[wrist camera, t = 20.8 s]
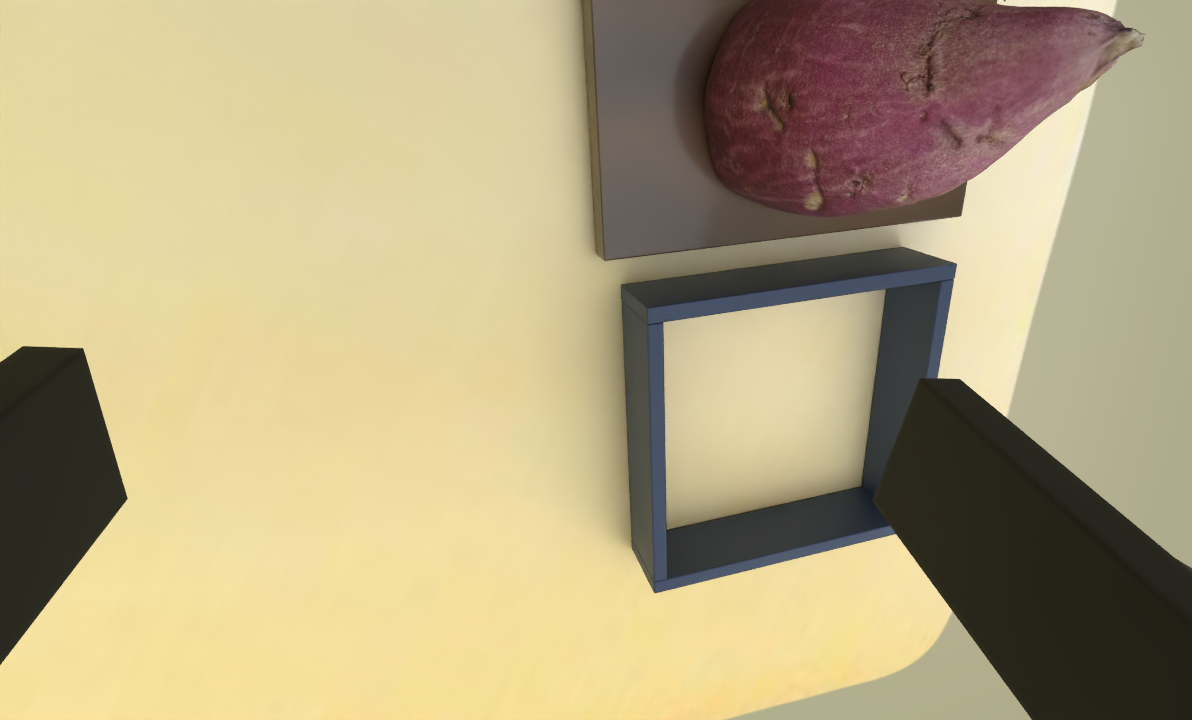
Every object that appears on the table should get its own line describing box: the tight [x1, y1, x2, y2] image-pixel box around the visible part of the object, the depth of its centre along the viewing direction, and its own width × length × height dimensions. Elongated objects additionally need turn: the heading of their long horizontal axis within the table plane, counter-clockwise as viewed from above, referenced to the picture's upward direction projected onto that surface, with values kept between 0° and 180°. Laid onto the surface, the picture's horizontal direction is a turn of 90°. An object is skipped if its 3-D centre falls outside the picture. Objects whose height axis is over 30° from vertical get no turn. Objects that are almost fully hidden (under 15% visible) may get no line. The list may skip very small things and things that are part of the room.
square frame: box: [621, 247, 957, 593], centre depth 36 cm, size 17×17×4 cm
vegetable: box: [704, 0, 1145, 217], centre depth 25 cm, size 10×10×15 cm
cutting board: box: [582, 0, 997, 261], centre depth 31 cm, size 14×20×2 cm
